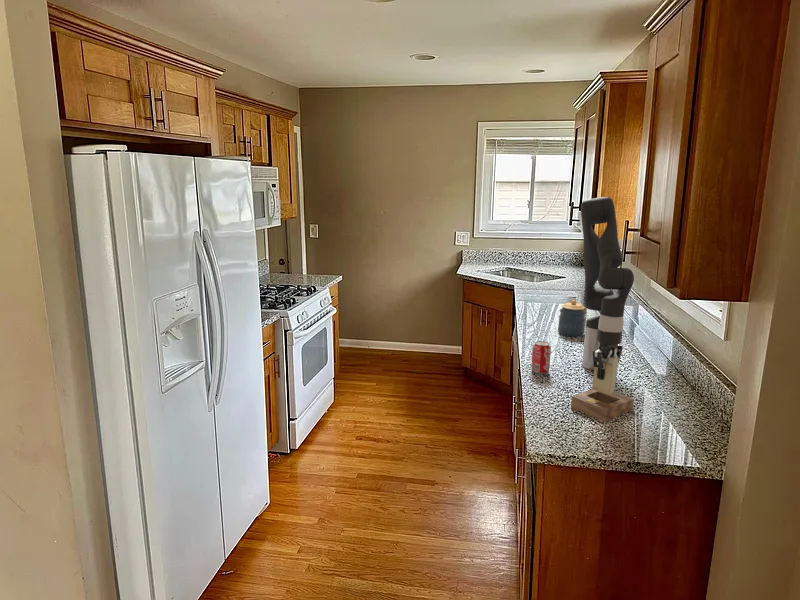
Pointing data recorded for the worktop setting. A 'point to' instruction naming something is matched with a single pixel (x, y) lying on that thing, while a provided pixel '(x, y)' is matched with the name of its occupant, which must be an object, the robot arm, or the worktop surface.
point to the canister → (572, 319)
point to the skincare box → (606, 377)
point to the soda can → (541, 357)
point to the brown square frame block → (602, 404)
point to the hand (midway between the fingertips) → (605, 377)
